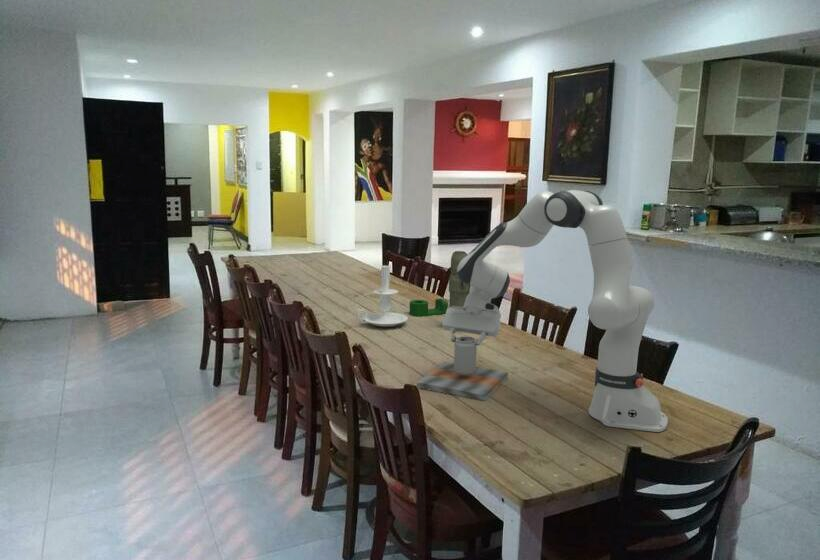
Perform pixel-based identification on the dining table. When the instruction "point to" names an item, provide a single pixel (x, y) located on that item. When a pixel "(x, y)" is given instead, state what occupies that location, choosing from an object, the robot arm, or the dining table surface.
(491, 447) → the dining table surface
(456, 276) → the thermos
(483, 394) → the grey orange flat square
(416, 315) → the slotted cylinder bracket
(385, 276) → the candlestick
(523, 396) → the dining table surface
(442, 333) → the dining table surface
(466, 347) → the can
